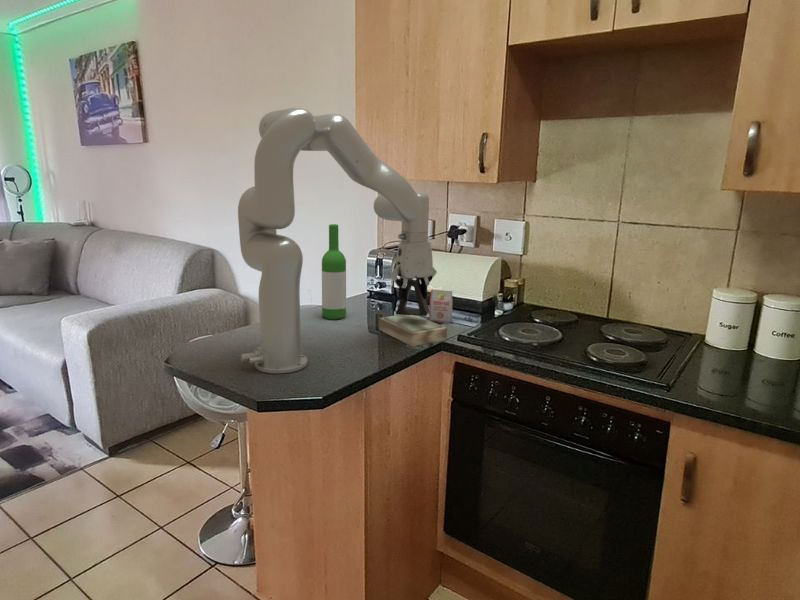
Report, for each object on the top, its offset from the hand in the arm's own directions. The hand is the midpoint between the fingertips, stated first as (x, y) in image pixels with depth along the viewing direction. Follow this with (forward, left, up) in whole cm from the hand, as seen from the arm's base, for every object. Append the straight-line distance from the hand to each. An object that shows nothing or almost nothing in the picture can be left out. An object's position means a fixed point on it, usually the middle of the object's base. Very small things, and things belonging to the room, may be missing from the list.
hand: (413, 298), depth 154 cm
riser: (0, 0, -11) cm, 11 cm away
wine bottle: (-12, +28, -11) cm, 32 cm away
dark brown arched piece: (0, 0, -4) cm, 4 cm away
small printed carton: (+17, +9, -11) cm, 22 cm away
